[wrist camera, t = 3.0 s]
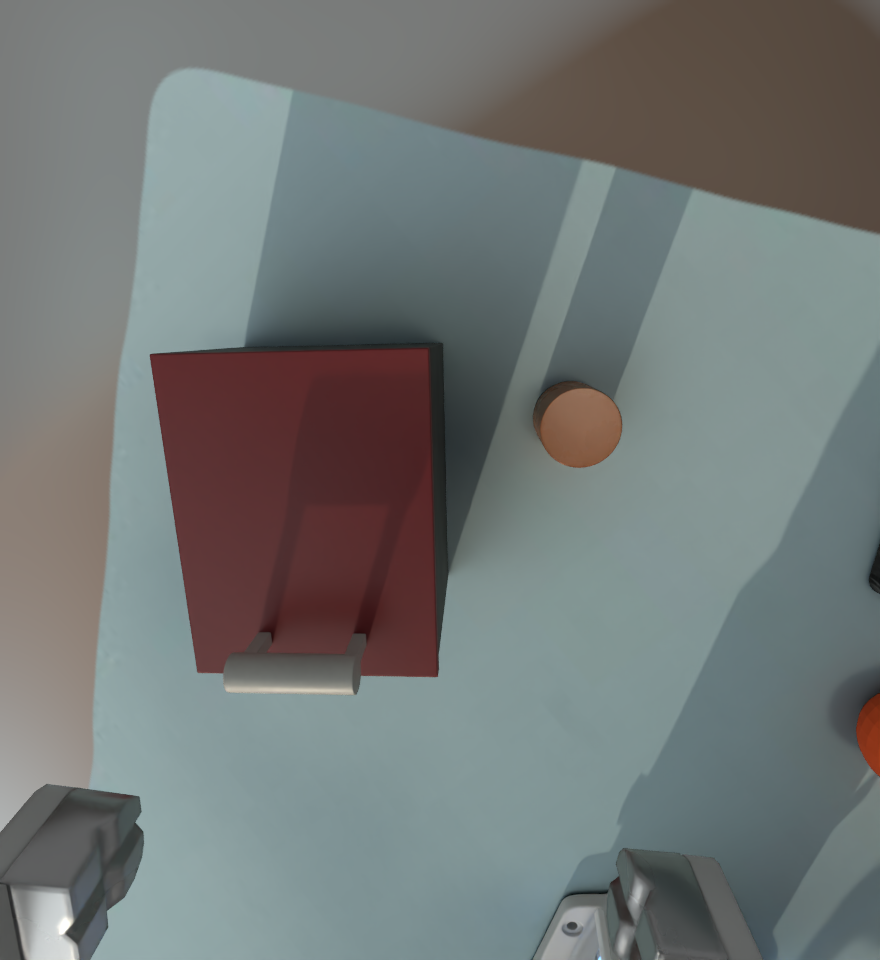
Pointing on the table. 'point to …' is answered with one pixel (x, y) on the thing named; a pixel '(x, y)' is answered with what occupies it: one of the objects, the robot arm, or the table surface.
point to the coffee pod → (577, 424)
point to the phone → (875, 574)
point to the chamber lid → (304, 513)
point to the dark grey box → (438, 448)
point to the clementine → (870, 733)
